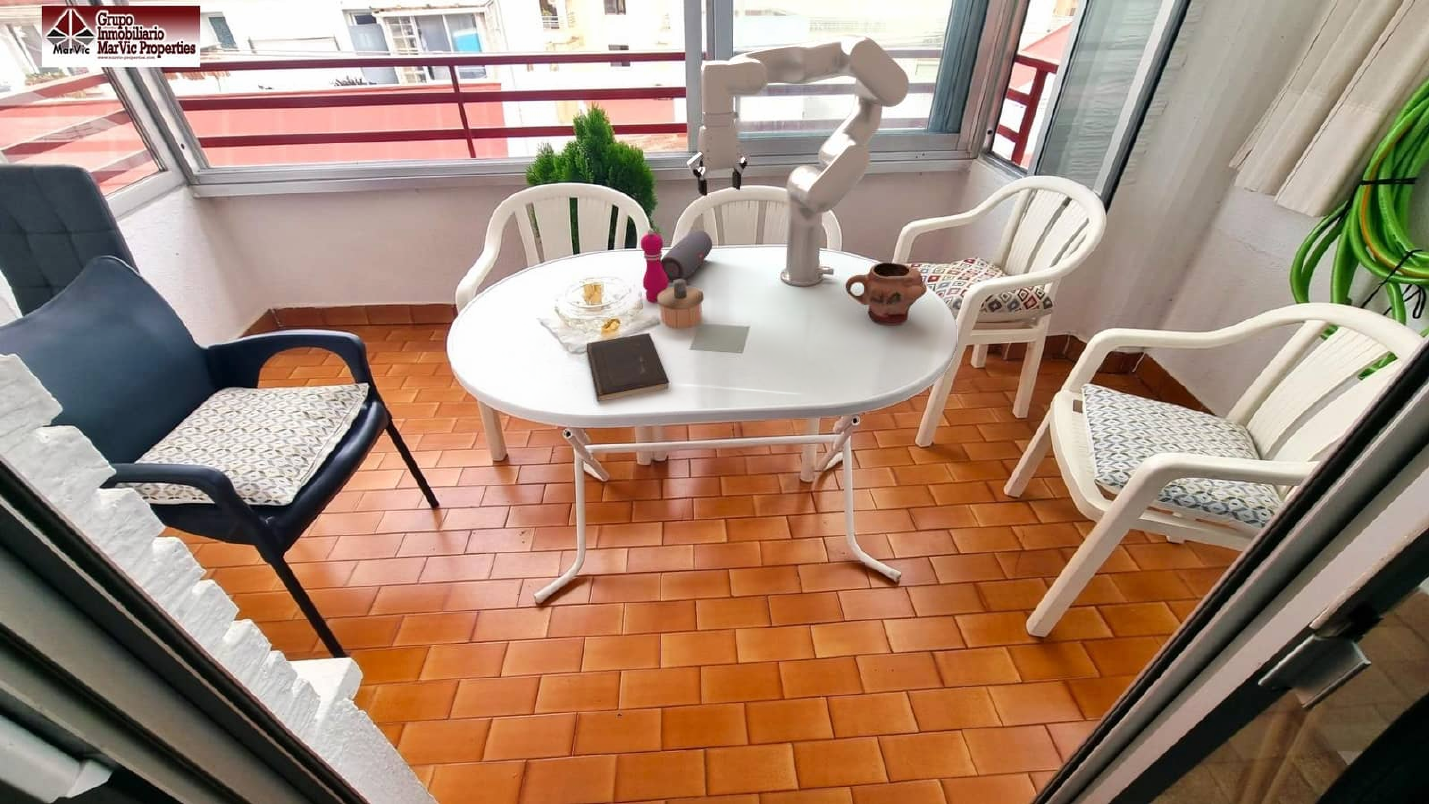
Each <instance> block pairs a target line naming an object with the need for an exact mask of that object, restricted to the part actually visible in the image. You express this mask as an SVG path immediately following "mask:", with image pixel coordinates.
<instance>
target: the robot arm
mask: <svg viewBox="0 0 1429 804" xmlns="http://www.w3.org/2000/svg"><path fill="white" fill-rule="evenodd" d="M846 76H847V77H850V78H854V79H855V82H854V100H853V101H854V102H853V107H852V109H851V111H850V113H849V114H848V116H847V117H846V119H844V121H843V122H842V123H841V124H840V125H839V126H838V127H837V128H836V130H834V132H833V133H832V134H831V135H830V136H828V138H827V139H826V140H825V141H824V143H823V144H822V145H821V146H820V148H819V151H818V153H817V154H818V155H817V158H818V159H817V160H818V162H819V165H820V166H821V167H822V168H823V169H824V170H823V171H822V170H820V169H819V168H816V167H814V166H812V165H805V164H804V165H800V166H798V167H796V168H795V169H793V171H792V172H791V173H790V174H789V176H788V179H787V183H786V196H787V206H788V208H787V210H788V213H787V214H788V219H787V220H788V221H787V235H786V236H787V239H786V241H787V242H786V259H785V260H786V263H785V268H784V269H782V270H781V272H780V279H781V280H782V281H783V282H784V283H786V284H788V285H792V286H797V287H798V286H801V287H803V286H804V287H806V286H814V285H816V284H818V283H820V282H821V281H822V280H823V278H824V275H829V276H833V275H834V272H835V268H834V267H831V265H823V264H821V259H820V253H821V252H820V251H821V239H822V229H823V214H824V213H827V212H829V211H831V210H833V208H834V207H836V206H837V205H838V204H839V203H840V202H841V201H842V200H843V199H844V198H845V197H846V196H847V194H848V193H849V192H850V191H852V190H853V188H854V187H855V186H856V185H857V184H858V183H859V182H860V181H861V180H862V179H863V177H864V176H865V174H866V173H867V171H868V169H869V166H870V163H871V153H870V150H869V149H868V146H867V144H868V143H869V142H870V141H871V140H872V139H873V138H874V136H875V134H876V133H877V131H878V129H879V127H880V125H881V121H882V115H883V107H884V108H893V107H896V106H898V105H900V104H901V103H902V102H903V101H904V100H905V98H906V97H907V95H908V94H909V89H910V80H909V77H908V75H907V73H906V71H905V70H904V69H903V67H901V66H900V64H898V63H897V62H896V61H895V60H894V59H893V58H892V57H891V55H889V54H888V53H887V52H886V51H885V50H884V48H883V47H881V46H880V44H878V43H877V42H876V40H873V39H872V38H870V37H867V36H860V35H855V34H854V35H853V34H846V35H845V34H844V35H839V36H834V37H829V38H824V39H819V40H817V41H816V40H815V41H810V42H805V43H804V42H803V43H799V44H792V45H786V46H782V47H775V48H768V49H762V50H756V51H750V52H746V53H741V54H737V55H734V56H733V57H731V58H730V59H729V60H724V59H723V60H721V59H720V60H719V59H717V60H707V61H705V62H703V64H701V67H700V82H701V83H700V84H701V104H702V108H701V109H702V125H701V126H700V127H699V130H698V138H697V154H696V155H694V156H693V157H692V158H691V159H689V160H688V161H687V166H688V168H689V170H690V172H691V174H692V175H694V176H695V177H696V179H697V188H698V192H699V194H700V195H702V196H703V197H706V196H708V181H707V179H706V177H707V175H708V173H709V172H714V171H721V170H727V169H733V171H732V173H731V174H732V175H731V176H732V182H731V184H732V188H733V189H735V190H738V191H740V190H741V185H742V174H743V173H744V169H745V168H746V167H747V165H748V162H749V160H750V157H751V153H749V152H747V151H746V150H743V149H741V148H740V142H739V141H740V139H739V133H738V129H737V125H736V124H735V119H738V118H739V113H738V111H735V109H734V108H735V107H734V102H735V101H734V96H735V95H737V96H739V95H740V96H756V95H759V94H760V93H762V92H763V91H765V89H766V88H767V87H768V84H789V85H806V84H807V85H808V84H811V83H815V82H820V81H824V80H829V79H836V78H838V77H846ZM741 156H742V158H741ZM740 158H741V160H740ZM696 165H697V166H698V168H699V169H697V168H696V167H697V166H696Z"/></svg>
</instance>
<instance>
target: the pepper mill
mask: <svg viewBox="0 0 1429 804" xmlns="http://www.w3.org/2000/svg"><path fill="white" fill-rule="evenodd" d="M646 233H647V234H645V235H644V236H642V238H641V239H640V248H641V249H642V251H643V255H644V256H643V258H644V259H645V261H646V270H645V273H644V275H643V280H642V287H643V289H645V290H646V291H645V297H646V300H647V301H649V302H651V303H652V302H653V303H658V298H657V297H658V294H659V293H660V292H661V291H663V290H665V289H668V288H669V285H670V283H669V282H668V278H667V275H666V274H665V272H664V270H663V268H662V265H661V260H662V258H663V251H662V249H663V247H664V242H663V239H662V237H661V236H660V235H659V234H657V233H655V231H654V229H653V228H648V229H647V231H646Z"/></svg>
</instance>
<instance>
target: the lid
mask: <svg viewBox="0 0 1429 804" xmlns="http://www.w3.org/2000/svg"><path fill="white" fill-rule="evenodd" d="M672 284H673V286H672V287H667V288H666V289H665V290H663V291H661V292H660V293H659V294H658V297H657V298H658V302H657V303H658V304H659V306H660V305H661V306H663V307H665V308H669V309H688V308H692V307H695V306H697V305H699V304H700V303H701V304H702V302H703V301H704V299H705V298H704V292H703V291H702V290H701V289H699V288H697V287H694V286H691V285H690V286H689V285H687V282H686V279H677V280H674V281H673V283H672Z"/></svg>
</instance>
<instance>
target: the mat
mask: <svg viewBox="0 0 1429 804" xmlns="http://www.w3.org/2000/svg"><path fill="white" fill-rule="evenodd" d="M749 330H750V326H747V325H746V326H745V325H729V324H716V323H715V324H713V323H699V324H698V328H697V330H696V332H695V335H694V338H693V340H692V342H691V345H690V347H689V350H691V351H705V352H708V351H709V352H722V353H735V354H737V353H738V354H742V353H743V352H744V349H745V345H746V341H747V337H748V334H749Z"/></svg>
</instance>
